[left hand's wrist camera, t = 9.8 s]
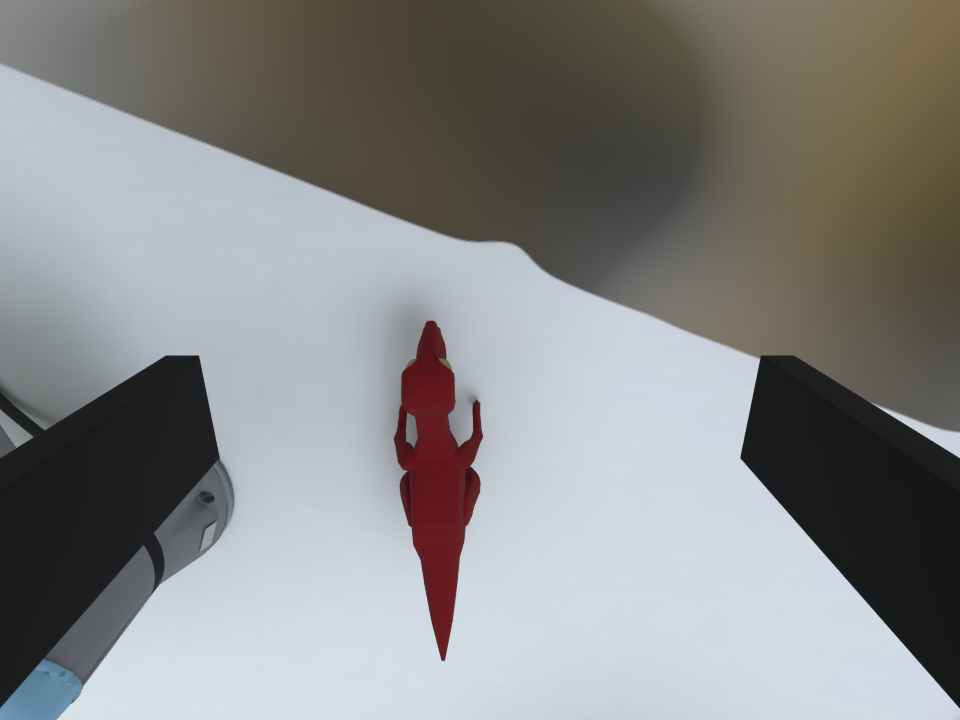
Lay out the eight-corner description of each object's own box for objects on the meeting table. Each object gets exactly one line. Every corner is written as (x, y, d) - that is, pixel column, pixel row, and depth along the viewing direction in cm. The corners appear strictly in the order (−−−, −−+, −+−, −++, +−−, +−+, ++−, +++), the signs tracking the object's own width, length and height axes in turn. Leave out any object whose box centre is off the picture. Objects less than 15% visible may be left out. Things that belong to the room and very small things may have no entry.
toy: (481, 366, 51) (478, 307, 37) (489, 652, 44) (488, 717, 30) (407, 368, 51) (375, 310, 37) (402, 654, 44) (359, 720, 30)
